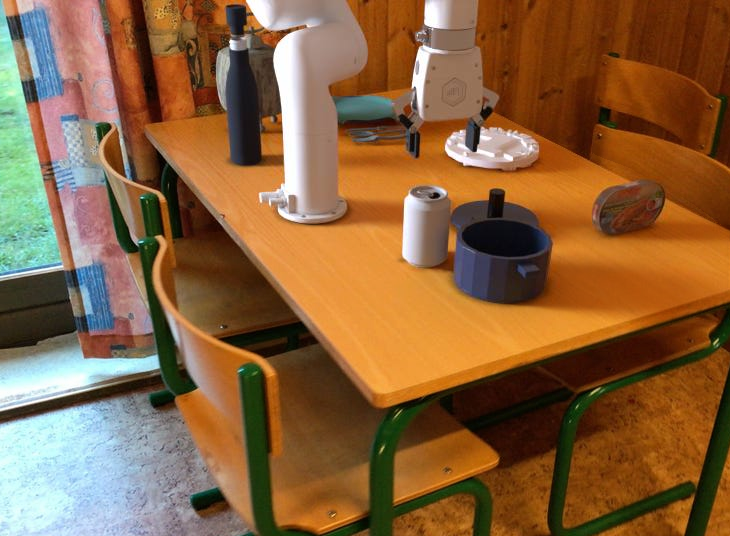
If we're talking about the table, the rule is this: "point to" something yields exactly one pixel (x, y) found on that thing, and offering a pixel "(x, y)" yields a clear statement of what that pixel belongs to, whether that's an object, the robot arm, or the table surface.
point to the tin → (628, 206)
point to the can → (426, 226)
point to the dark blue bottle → (241, 94)
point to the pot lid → (492, 210)
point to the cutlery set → (366, 116)
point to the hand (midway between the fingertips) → (442, 152)
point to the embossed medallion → (494, 149)
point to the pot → (502, 259)
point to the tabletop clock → (263, 72)
